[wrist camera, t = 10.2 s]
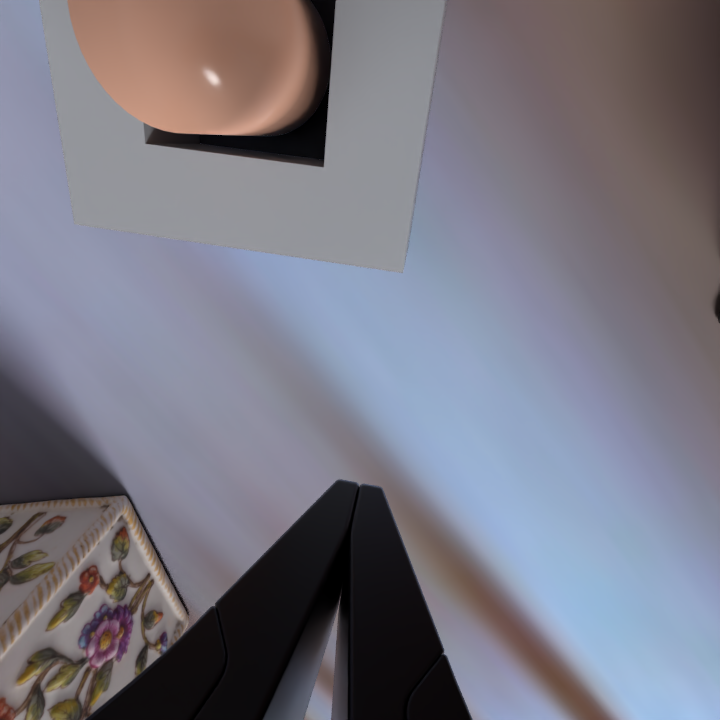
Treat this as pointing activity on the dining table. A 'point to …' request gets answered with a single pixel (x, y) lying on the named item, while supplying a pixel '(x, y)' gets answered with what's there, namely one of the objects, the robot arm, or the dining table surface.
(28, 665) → the decorative jar
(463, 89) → the dining table surface
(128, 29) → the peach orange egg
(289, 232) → the grey holder tray
